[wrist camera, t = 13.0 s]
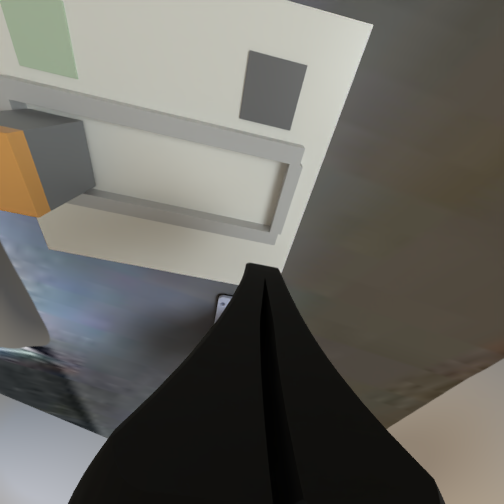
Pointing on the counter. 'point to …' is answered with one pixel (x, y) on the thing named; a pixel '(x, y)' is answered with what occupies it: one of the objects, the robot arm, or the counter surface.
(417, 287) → the counter surface
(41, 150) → the knob
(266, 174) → the switch panel
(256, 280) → the robot arm
